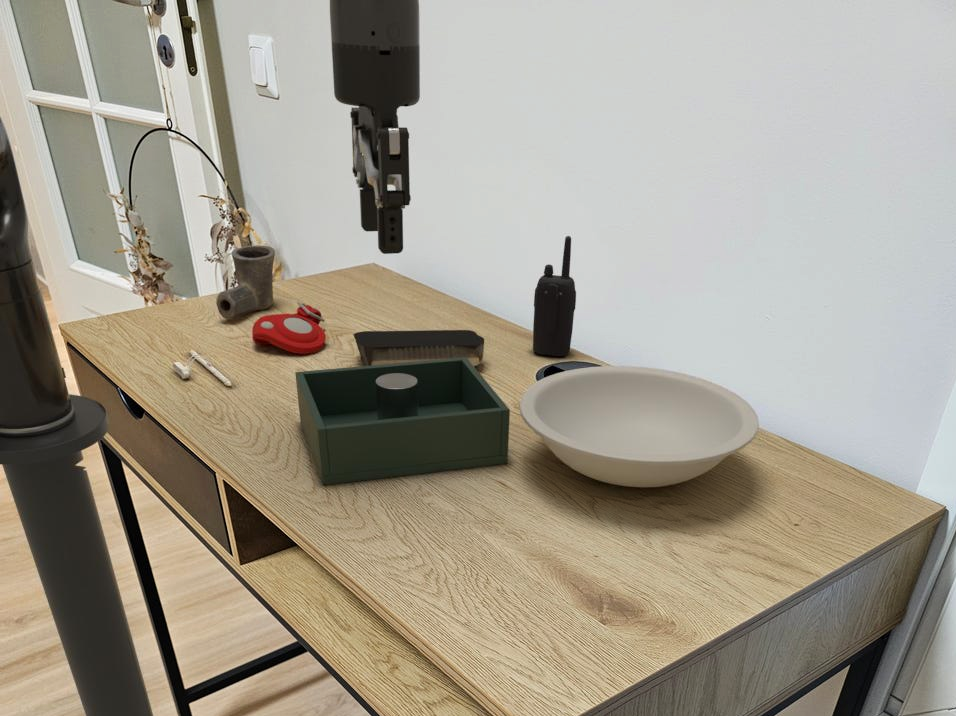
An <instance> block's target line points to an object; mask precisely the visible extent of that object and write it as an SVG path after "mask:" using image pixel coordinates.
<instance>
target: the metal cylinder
mask: <svg viewBox="0 0 956 716" xmlns="http://www.w3.org/2000/svg"><path fill="white" fill-rule="evenodd" d="M376 399H377V419H378V420H384V419H394V418H404V417H413V416H418V381H417V379H416V378H415V377H414V376H411V375H408V374H402V373H392V374H386V375H382V376H380V377H378V378H377V379H376Z"/></svg>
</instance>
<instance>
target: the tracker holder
mask: <svg viewBox="0 0 956 716" xmlns="http://www.w3.org/2000/svg"><path fill="white" fill-rule="evenodd" d="M296 304H297V306H298V307H297V309H296V311H297V312H295V313H275V314H268V315H263V316H260V317H259V318H258V319H257V320H256V321H255V322H254V323H253V325H252V329H251V331H252V333H251V334H252V335H251V337H252V338H251V339H252V341H253V342H254V343H255V344H256V345H259V346H266V345H270V344H271V345H274V346H275V347H278V348H280V349H283V350H285V351H288V352H290V353H294V354H300V355H309V354H314V353H317V352H319V351H321V350H322V349H323V348H324V347H325V342H326V339H327V337H326V333H325V331H324V329H323V328H322V327H321V326H320V324H321V322H322V323H325V321H326V320H325V318H324V317H323V316H322V313H321V311H320V309H318V308H316V307H314V306H312V305H310V304H305V303H303V302H301V301H300V300H298V301H296Z"/></svg>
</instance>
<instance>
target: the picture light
mask: <svg viewBox="0 0 956 716" xmlns="http://www.w3.org/2000/svg"><path fill="white" fill-rule="evenodd" d="M189 355H190V356H191V357H189V358H188V359H187V362H186V365H185V366H184V365H183V364H182V363H181V362H180V361H176V362H173V364H172V367H173V369H174V372H175V373H177V374H178V375H179V376H180V377H181V378H182V380H184V379H189V378H190V377H191V374H190V373H191V372H192V369H191V365H192V363H193V361H194V360H196V361H198V362H199V363H200V364H201V365H202V366H204V368H206V370H208V371H209V372H211V373H212V374H213V375H214V376H215V377H216V378H217V379H219V380H220V381H221V382H222V383H223V384H224V385H225V386H227V387H231V386H232V381H231V380H230V379H229V378H227V377H226V376H224V375H223V374H222V373H221V372H220V371H219V370H218V369H216V368H215V367H214V366H213V364H212V363H211V362H210V360H209V359H208V358H206V356H204V355H202V354H199V353H198V352H196V350H193V349H190V350H189ZM191 359H192V360H191ZM190 360H191V361H190Z"/></svg>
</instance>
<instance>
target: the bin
mask: <svg viewBox="0 0 956 716" xmlns="http://www.w3.org/2000/svg"><path fill="white" fill-rule="evenodd" d="M392 373H402V374H408V375H411V376H414V377H415V378H416V379H417V381H418V416H413V417H404V418H394V419H384V420H378V419H377V399H376V379H377V378H378V377H380V376H382V375H386V374H392ZM295 383H296V391H297V392H296V394H297V402H298V410H299V411H298V412H299V420H300V424H301V428H302V431H303V433H304V436H305V439H306V442H307V445H308V447H309V450H310V454H311V456H312V459H313V462H314V465H315V467H316V469H317V472H318V473H317V474H318V475H319V479H320V482H321V484H322V486H327V485H336V484H345V483H352V482H354V483H355V482H361V481H362V482H363V481H370V480H377V479H385V478H386V479H387V478H395V477H404V476H411V475H421V474H427V473H436V472H437V473H438V472H446V471H453V470H461V469H472V468H479V467H486V466H487V467H488V466H495V465H496V466H497V465H503V464H508V461H509V455H508V454H509V440H510V439H509V436H510V415H511V410H510V407H508V406H507V404H506V403H505V402H504V401H503V399H502V398H501V397H500V396H499V395H498V394H497V392H496V390H494V389H493V387H491V385H490V384H489V382H487V380H486V379H485V378H484V377H483V376H482V375H481V373H480V372H479V370H477V368H476V366H473V365H472V364H471V362H470V361H469V360H468V359H467V358H466V357H464V358H452V359H441V360H429V361H418V362H406V363H395V364H383V365H371V366H366V365H362V366H350V367H338V368H337V367H336V368H328V369H327V368H326V369H316V370H305V371H304V370H303V371H295Z"/></svg>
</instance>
